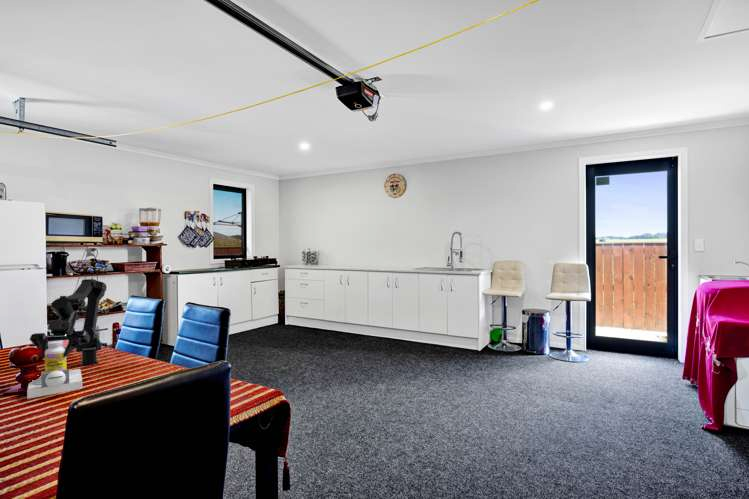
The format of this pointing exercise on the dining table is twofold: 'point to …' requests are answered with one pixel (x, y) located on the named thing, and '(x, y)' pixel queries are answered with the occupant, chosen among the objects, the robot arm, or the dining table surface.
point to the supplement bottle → (55, 357)
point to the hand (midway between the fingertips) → (54, 357)
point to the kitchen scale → (55, 383)
